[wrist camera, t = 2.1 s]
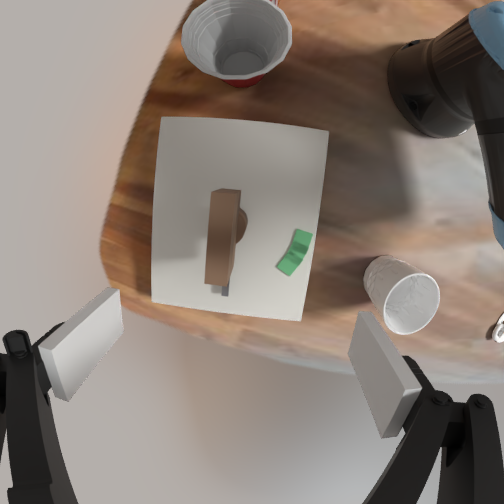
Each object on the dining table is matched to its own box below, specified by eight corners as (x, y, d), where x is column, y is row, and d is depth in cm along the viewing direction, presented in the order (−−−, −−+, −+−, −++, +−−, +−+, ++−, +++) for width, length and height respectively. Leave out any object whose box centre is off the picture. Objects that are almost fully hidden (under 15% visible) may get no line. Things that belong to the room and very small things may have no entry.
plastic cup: (276, 113, 35) (281, 88, 24) (195, 99, 35) (167, 72, 24) (293, 44, 32) (302, 0, 21) (215, 31, 32) (197, -13, 21)
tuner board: (171, 121, 36) (160, 116, 32) (322, 135, 36) (329, 130, 32) (161, 290, 42) (151, 302, 38) (297, 308, 42) (301, 322, 38)
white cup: (348, 276, 40) (370, 306, 31) (389, 239, 39) (422, 259, 29) (377, 311, 42) (402, 346, 32) (415, 277, 40) (448, 304, 30)
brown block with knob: (220, 185, 34) (201, 190, 24) (251, 188, 34) (245, 195, 24) (212, 289, 37) (193, 330, 27) (240, 293, 37) (231, 336, 27)
